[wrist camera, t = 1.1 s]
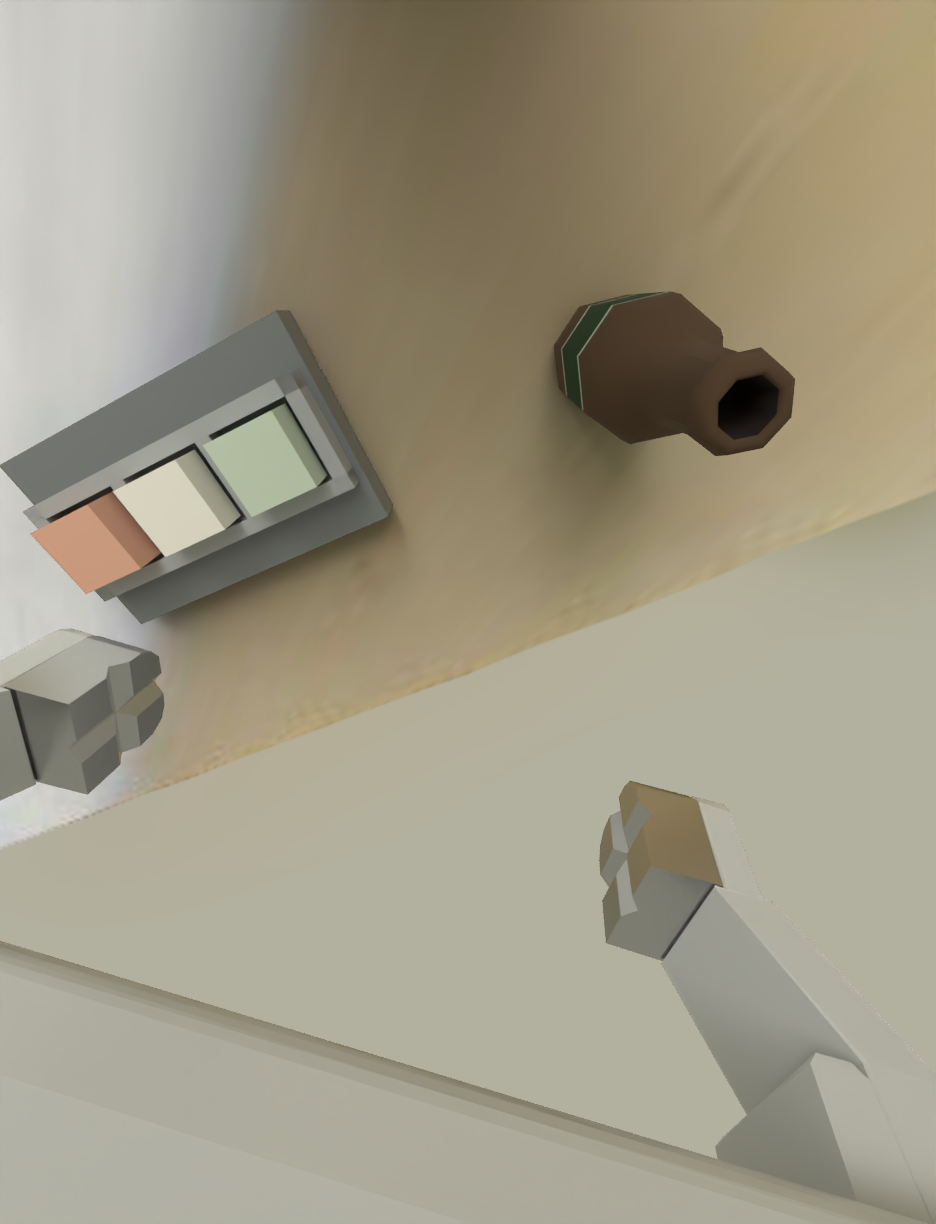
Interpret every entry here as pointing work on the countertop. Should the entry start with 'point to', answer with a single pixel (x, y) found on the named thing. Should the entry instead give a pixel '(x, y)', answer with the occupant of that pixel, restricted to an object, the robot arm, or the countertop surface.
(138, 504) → the cream key
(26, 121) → the countertop surface
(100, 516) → the terracotta key
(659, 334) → the beer bottle
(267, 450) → the sage key
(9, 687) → the robot arm
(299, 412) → the keypad
